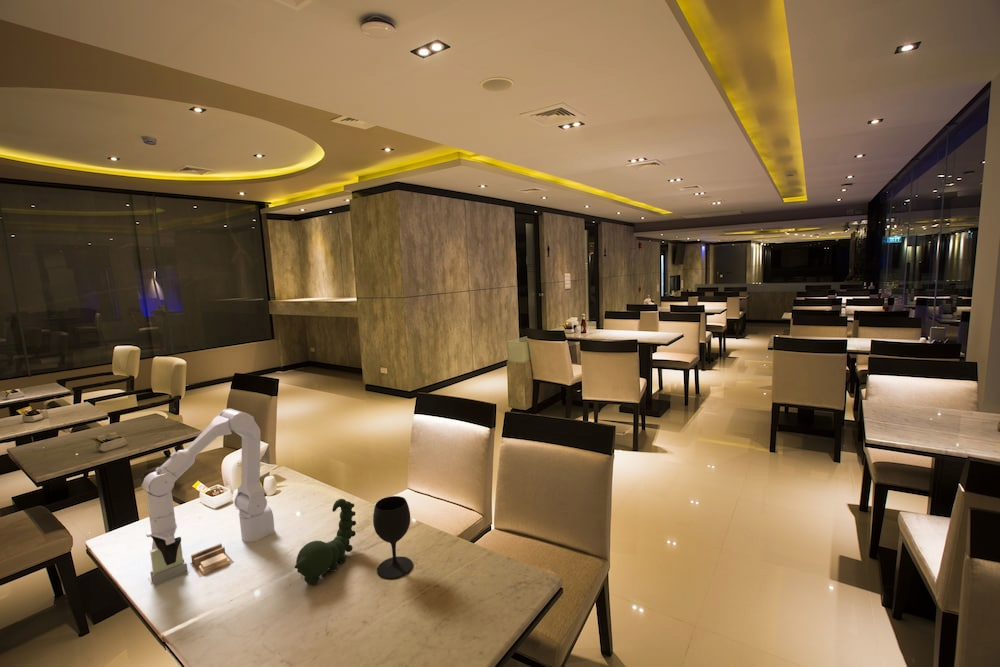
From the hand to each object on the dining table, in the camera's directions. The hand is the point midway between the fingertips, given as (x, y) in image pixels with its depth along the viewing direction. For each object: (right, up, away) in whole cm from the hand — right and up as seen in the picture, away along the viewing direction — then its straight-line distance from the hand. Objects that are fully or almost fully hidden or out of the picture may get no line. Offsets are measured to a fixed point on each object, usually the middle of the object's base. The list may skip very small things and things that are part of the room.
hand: (167, 558), depth 133 cm
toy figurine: (+45, -5, +2) cm, 46 cm away
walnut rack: (+9, -5, +6) cm, 12 cm away
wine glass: (+65, -4, +2) cm, 65 cm away
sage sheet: (0, -5, +1) cm, 5 cm away
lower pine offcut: (+11, -4, +4) cm, 12 cm away
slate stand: (0, -6, +1) cm, 6 cm away
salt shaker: (-11, -5, +14) cm, 18 cm away
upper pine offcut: (+11, -3, +4) cm, 12 cm away
